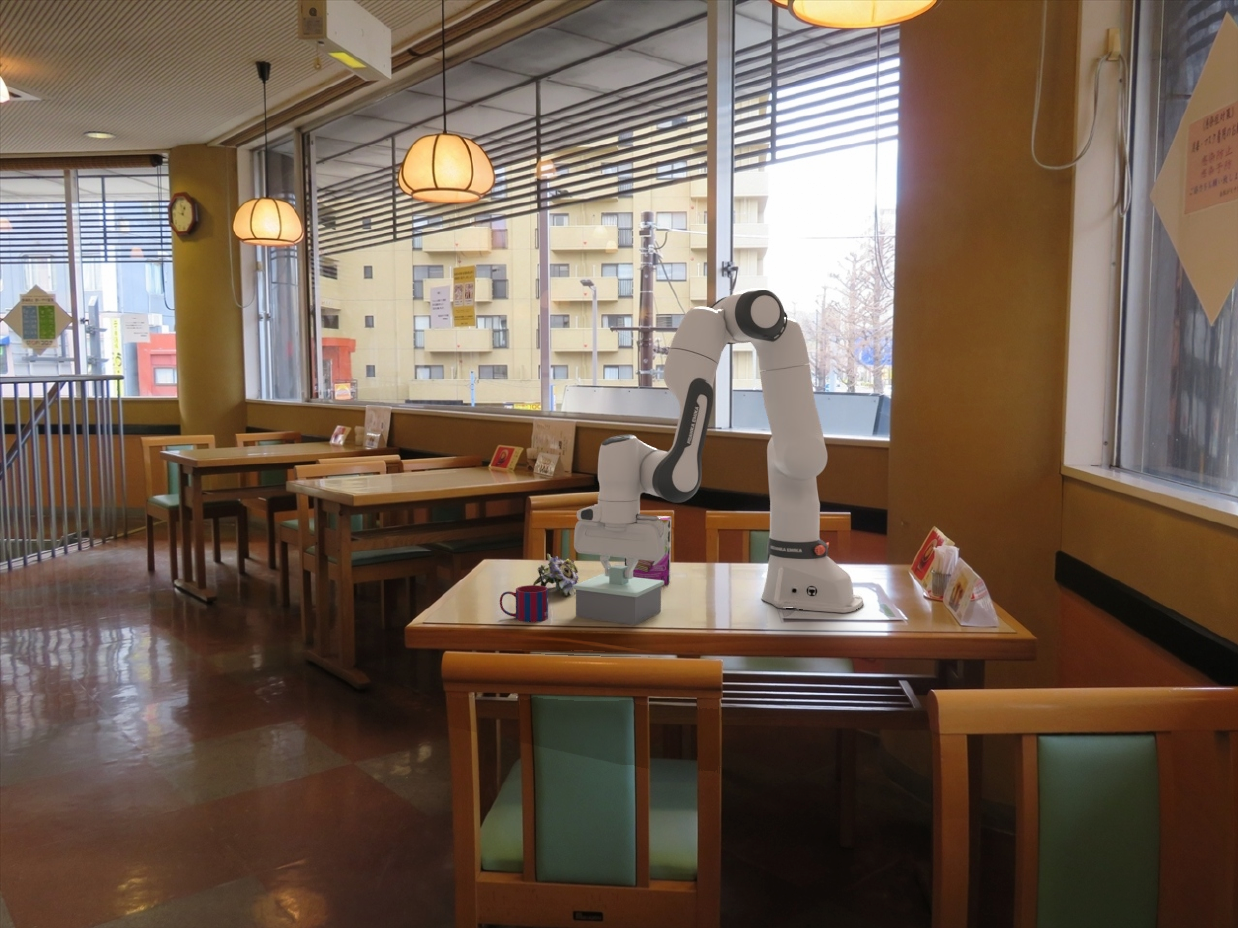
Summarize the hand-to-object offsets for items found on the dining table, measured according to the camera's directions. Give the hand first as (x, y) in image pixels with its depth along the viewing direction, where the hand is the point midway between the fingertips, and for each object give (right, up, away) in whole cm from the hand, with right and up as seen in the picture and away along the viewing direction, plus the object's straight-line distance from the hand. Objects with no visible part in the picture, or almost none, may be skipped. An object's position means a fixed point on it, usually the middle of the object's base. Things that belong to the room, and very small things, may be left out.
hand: (618, 577), depth 200 cm
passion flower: (-15, -7, +20) cm, 26 cm away
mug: (-20, -9, -2) cm, 22 cm away
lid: (0, -3, 0) cm, 3 cm away
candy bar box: (+7, -5, +33) cm, 34 cm away
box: (0, -9, +1) cm, 8 cm away
